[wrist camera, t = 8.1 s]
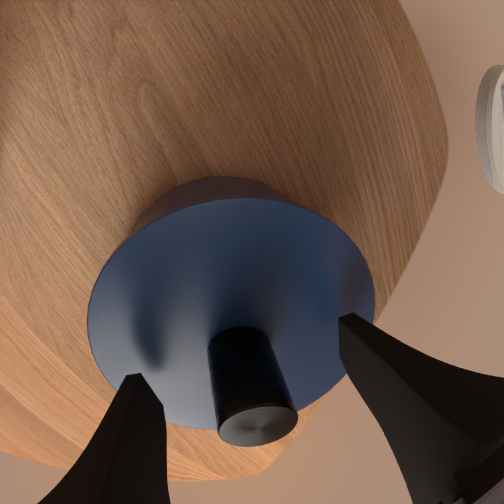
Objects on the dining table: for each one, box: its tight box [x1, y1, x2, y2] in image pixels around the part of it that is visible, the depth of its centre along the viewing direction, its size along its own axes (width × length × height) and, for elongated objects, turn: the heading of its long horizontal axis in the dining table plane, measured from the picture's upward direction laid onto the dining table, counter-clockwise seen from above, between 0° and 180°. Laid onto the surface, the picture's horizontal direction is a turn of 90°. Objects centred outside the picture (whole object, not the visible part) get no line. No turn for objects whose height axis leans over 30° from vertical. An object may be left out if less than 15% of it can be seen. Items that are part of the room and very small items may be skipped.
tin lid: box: [87, 194, 375, 447], centre depth 10 cm, size 11×11×5 cm
